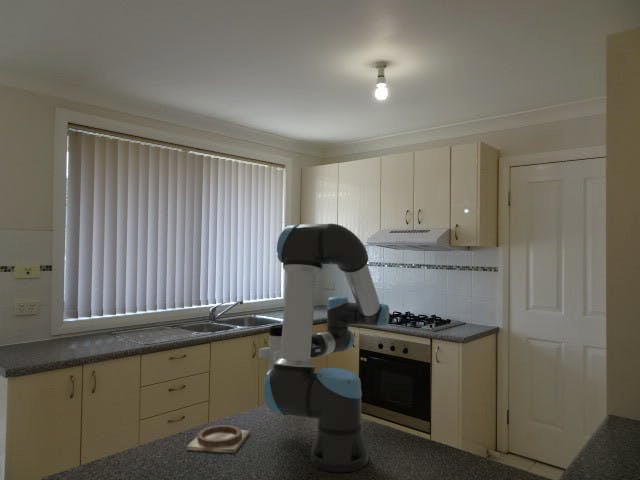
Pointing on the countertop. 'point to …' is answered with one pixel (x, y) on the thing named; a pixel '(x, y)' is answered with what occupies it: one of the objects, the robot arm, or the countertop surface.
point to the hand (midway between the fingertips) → (267, 355)
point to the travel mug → (274, 343)
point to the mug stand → (219, 439)
